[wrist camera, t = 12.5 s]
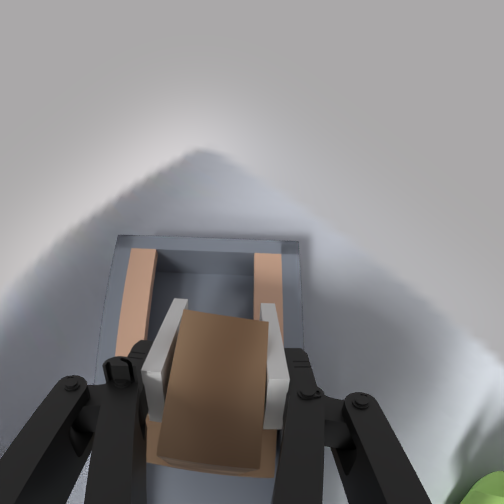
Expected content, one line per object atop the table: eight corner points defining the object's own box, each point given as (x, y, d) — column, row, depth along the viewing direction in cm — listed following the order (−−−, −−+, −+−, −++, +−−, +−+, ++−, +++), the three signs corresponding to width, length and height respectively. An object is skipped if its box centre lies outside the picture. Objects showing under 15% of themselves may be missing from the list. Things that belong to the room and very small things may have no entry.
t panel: (139, 460, 16) (93, 438, 9) (155, 377, 20) (131, 299, 13) (267, 478, 17) (323, 469, 9) (272, 394, 21) (321, 327, 13)
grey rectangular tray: (118, 552, 14) (99, 573, 10) (133, 262, 25) (118, 234, 21) (288, 565, 15) (299, 590, 11) (288, 268, 26) (298, 241, 22)
